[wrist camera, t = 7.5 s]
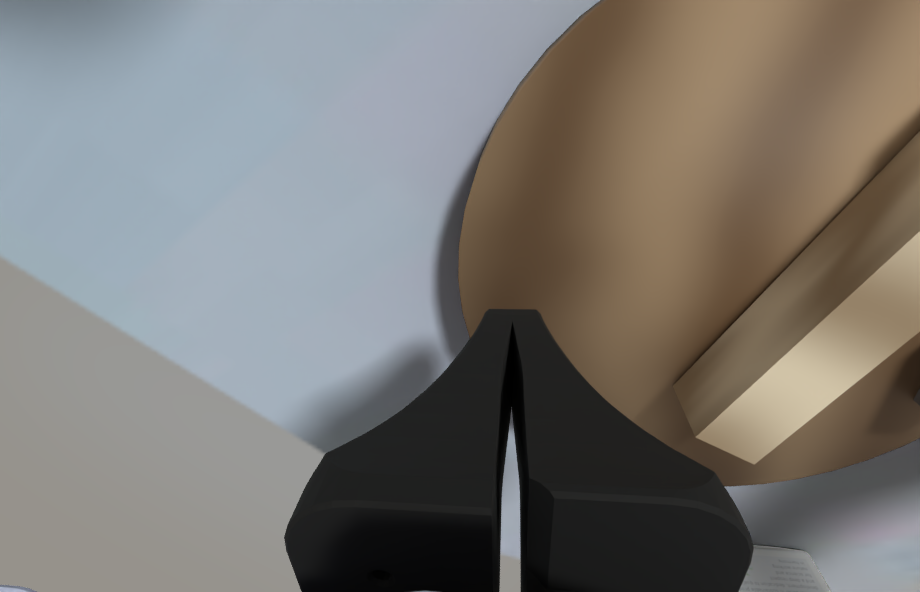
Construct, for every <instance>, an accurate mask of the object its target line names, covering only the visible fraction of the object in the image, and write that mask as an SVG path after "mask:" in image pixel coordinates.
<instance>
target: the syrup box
mask: <svg viewBox="0 0 920 592" xmlns="http://www.w3.org/2000/svg"><path fill="white" fill-rule="evenodd" d="M753 547H754V550H753V555H752V560H751V564H750V566H749V569H748V571H747V573H746V576H745V578H744V580H743V583H742V585H741V587H740V590H739V592H831V590H830V588H829V587H828V585H827V583H826V581H825V580H824V578H823V576H822V575H821V573H820V571H819V569H818V568H817V566H816V564H815V563H814V561H813V559H812V558H811V556H810V555H809V554H808V553H807V552H805V551H802V550H796V549H788V548H780V547H771V546H759V545H753Z"/></svg>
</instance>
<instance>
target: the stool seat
mask: <svg viewBox="0 0 920 592" xmlns="http://www.w3.org/2000/svg"><path fill="white" fill-rule="evenodd" d="M919 131H920V0H600V1H599V2H598V3H597V4H595V5H594V6H593V7H591V8H590V9H589V10H588V11H586V12H585V13H584V14H582V15H581V16H580V17H579V18H578V19H577V20H576V21H575V22H574V23H573V24H572V25H571V26H570V27H569V28H568V29H567V30H566V31H565V32H564V33H563V34H562V35H561V36H560V37H559V38H558V39H557V40H556V41H555V42H554V43H553V44H552V45H551V46H550V47H549V48H548V49H547V50H546V51H545V52H544V53H543V55H542V56H541V57H540V58H539V60H538V61H537V62H536V63H535V65H534V66H533V67H532V68H531V70H530V71H529V72H528V73H527V75H526V76H525V77H524V78H523V80H522V81H521V82H520V83H519V85H518V87H517V88H516V90H515V91H514V93H513V95H512V96H511V98H510V100H509V101H508V103H507V105H506V106H505V108H504V109H503V111H502V113H501V114H500V116H499V118H498V119H497V121H496V124H495V126H494V128H493V130H492V132H491V135H490V137H489V139H488V141H487V143H486V146H485V148H484V150H483V152H482V154H481V158H480V161H479V164H478V167H477V171H476V174H475V177H474V180H473V184H472V187H471V190H470V194H469V197H468V200H467V204H466V207H465V212H464V218H463V224H462V230H461V236H460V242H459V269H458V281H459V289H460V297H461V305H462V312H463V315H464V319H465V323H466V326H467V330H468V333H469V337H470V338H471V337H472V335H473V334H474V332H475V330H476V329H477V327H478V325H479V324H480V322H481V320H482V318H483V316H484V314H485V312H486V311H487V310H488V309H536V310H537V311H538V312H539V313H540V314H541V316H542V318H543V320H544V322H545V324H546V326H547V328H548V330H549V331H550V333H551V335H552V336H553V338H554V339H555V341H556V342H557V344H558V345H559V347H560V348H561V349H562V351H563V352H564V354H565V355H566V356H567V358H568V359H569V360H570V362H571V363H572V364H573V365H574V367H575V368H576V369H577V370H578V371H579V373H580V374H581V375H582V376H583V377H584V378H585V379H586V380H587V382H588V383H589V384H590V385H591V386H592V387H593V388H594V389H595V390H596V391H597V392H598V393H599V394H600V395H601V396H602V397H603V398H604V399H605V400H607V401H608V402H609V403H610V404H611V405H612V406H613V407H615V408H616V409H617V410H618V411H620V412H621V413H622V414H623V415H625V416H626V417H627V418H629V419H630V420H631V421H632V422H634V423H635V424H636V425H638V426H639V427H641V428H642V429H643V430H645V431H646V432H648V433H649V434H651V435H652V436H654V437H655V438H657V439H658V440H660V441H661V442H663V443H665V444H666V445H668V446H669V447H671V448H673V449H674V450H676V451H678V452H680V453H682V454H683V455H685V456H687V457H689V458H691V459H692V460H694V461H696V462H698V463H700V464H701V465H703V466H705V467H707V468H709V469H710V470H712V471H714V472H715V473H716V474H717V476H718V478H719V479H720V481H721V482H722V484H723V486H742V485H757V484H767V483H773V482H780V481H787V480H794V479H799V478H804V477H808V476H812V475H817V474H821V473H825V472H830V471H834V470H837V469H840V468H843V467H847V466H850V465H853V464H856V463H859V462H863V461H866V460H869V459H871V458H874V457H877V456H879V455H882V454H884V453H887V452H889V451H892V450H894V449H897V448H899V447H902V446H904V445H906V444H908V443H910V442H912V441H915V440H917V439H919V438H920V332H919V333H917V334H916V335H915V336H914V337H912V338H911V339H910V340H909V341H907V342H906V343H905V344H904V345H902V346H901V347H900V348H899V349H897V350H896V351H895V352H894V353H892V354H891V355H890V356H889V357H887V358H886V359H885V360H884V361H883V362H881V363H880V364H879V365H878V366H876V367H875V368H874V369H873V370H871V371H870V372H869V373H868V374H866V375H865V376H864V377H863V378H861V379H860V380H859V381H858V382H856V383H855V384H854V385H853V386H851V387H850V388H849V389H848V390H846V391H845V392H844V393H843V394H841V395H840V396H839V397H838V398H836V399H835V400H834V401H833V402H832V403H830V404H829V405H828V406H827V407H825V408H824V409H823V410H822V411H820V412H819V413H818V414H817V415H815V416H814V417H813V418H812V419H810V420H809V421H808V422H807V423H805V424H804V425H803V426H802V427H800V428H799V429H798V430H797V431H795V432H794V433H793V434H792V435H790V436H789V437H788V438H787V439H786V440H784V441H783V442H782V443H781V444H779V445H778V446H777V447H776V448H774V449H773V450H772V451H771V452H769V453H768V454H767V455H766V456H764V457H763V458H762V459H761V460H759V461H758V462H757V463H756V464H752V463H750V462H748V461H745V460H743V459H741V458H739V457H737V456H735V455H733V454H730V453H728V452H726V451H724V450H722V449H720V448H717V447H715V446H713V445H711V444H709V443H707V442H704V441H702V440H700V439H698V438H696V437H695V435H694V433H693V431H692V428H691V426H690V424H689V422H688V419H687V417H686V415H685V413H684V410H683V408H682V406H681V404H680V401H679V399H678V397H677V395H676V392H675V390H674V388H673V385H674V384H675V383H676V382H677V381H678V380H679V379H680V378H681V377H682V376H683V375H684V374H685V373H686V372H687V371H688V370H689V369H690V368H691V367H692V366H693V365H694V364H695V363H696V362H697V361H698V360H699V358H700V357H701V356H702V355H703V354H704V353H705V352H706V351H707V350H708V349H709V348H710V347H711V346H712V345H713V344H714V343H715V342H716V341H717V340H718V339H719V338H720V337H721V336H722V335H723V334H724V333H725V332H726V331H727V330H728V329H729V327H730V326H731V325H732V324H733V323H734V322H735V321H736V320H737V319H738V318H739V317H740V316H741V315H742V314H743V313H744V312H745V311H746V310H747V309H748V308H749V307H750V306H751V305H752V304H753V303H754V302H755V301H756V300H757V299H758V298H759V297H760V295H761V294H762V293H763V292H764V291H765V290H766V289H767V288H768V287H769V286H770V285H771V284H772V283H773V282H774V281H775V280H776V279H777V278H778V277H779V276H780V275H781V274H782V273H783V272H784V271H785V270H786V269H787V268H788V267H789V266H790V265H791V263H792V262H793V261H794V260H795V259H796V258H797V257H798V256H799V255H800V254H801V253H802V252H803V251H804V250H805V249H806V248H807V247H808V246H809V245H810V244H811V243H812V242H813V241H814V240H815V239H816V238H817V237H818V236H819V235H820V234H821V233H822V231H823V230H824V229H825V228H826V227H827V226H828V225H829V224H830V223H831V222H832V221H833V220H834V219H835V218H836V217H837V216H838V215H839V214H840V213H841V212H842V211H843V210H844V209H845V208H846V207H847V206H848V205H849V204H850V203H851V202H852V200H853V199H854V198H855V197H856V196H857V195H858V194H859V193H860V192H861V191H862V190H863V189H864V188H865V187H866V186H867V185H868V184H869V183H870V182H871V181H872V180H873V179H874V178H875V177H876V176H877V175H878V174H879V173H880V172H881V171H882V170H883V168H884V167H885V166H886V165H887V164H888V163H889V162H890V161H891V160H892V159H893V158H894V157H895V156H896V155H897V154H898V153H899V152H900V151H901V150H902V149H903V148H904V147H905V146H906V145H907V144H908V143H909V142H910V141H911V140H912V139H913V138H914V136H915V135H916V134H917V133H918V132H919ZM511 407H512V406H511Z"/></svg>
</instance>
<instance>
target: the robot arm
mask: <svg viewBox="0 0 920 592" xmlns="http://www.w3.org/2000/svg"><path fill="white" fill-rule="evenodd" d="M511 406H512V414H513V424H514V433H515V443H516V453H517V462H518V472H519V484H520V537H521V592H739V590H740V587H741V585H742V583H743V580H744V578H745V576H746V573H747V571H748V569H749V566H750V564H751V560H752V555H753V550H754V547H753V544H752V540H751V537H750V533H749V531H748V529H747V527H746V525H745V523H744V521H743V518H742V516H741V514H740V512H739V510H738V509H737V507H736V505H735V503H734V502H733V500H732V498H731V497H730V495H729V493H728V492H727V490H726V489H725V487H724V486H723V484H722V482H721V481H720V479H719V478H718V476H717V474H716V473H715V472H714V471H712V470H710V469H709V468H707V467H705V466H703V465H701V464H700V463H698V462H696V461H694V460H692V459H691V458H689V457H687V456H685V455H683V454H682V453H680V452H678V451H676V450H674V449H673V448H671V447H669V446H668V445H666V444H665V443H663V442H661V441H660V440H658V439H657V438H655V437H654V436H652V435H651V434H649V433H648V432H646V431H645V430H643V429H642V428H641V427H639V426H638V425H636V424H635V423H634V422H632V421H631V420H630V419H629V418H627V417H626V416H625V415H623V414H622V413H621V412H620V411H618V410H617V409H616V408H615V407H613V406H612V405H611V404H610V403H609V402H608V401H607V400H605V399H604V398H603V397H602V396H601V395H600V394H599V393H598V392H597V391H596V390H595V389H594V388H593V387H592V386H591V385H590V384H589V383H588V382H587V380H586V379H585V378H584V377H583V376H582V375H581V374H580V373H579V371H578V370H577V369H576V368H575V367H574V365H573V364H572V363H571V362H570V360H569V359H568V358H567V356H566V355H565V354H564V352H563V351H562V349H561V348H560V347H559V345H558V344H557V342H556V341H555V339H554V338H553V336H552V335H551V333H550V331H549V330H548V328H547V326H546V324H545V322H544V320H543V318H542V316H541V314H540V313H539V312H538V311H537V310H536V309H488V310H487V311H486V312H485V314H484V316H483V318H482V320H481V322H480V324H479V325H478V327H477V329H476V330H475V332H474V334H473V335H472V337H471V338H470V340H469V341H468V342H467V344H466V345H465V347H464V348H463V349H462V351H461V352H460V353H459V355H458V356H457V357H456V358H455V359H454V361H453V362H452V363H451V364H450V365H449V367H448V368H447V369H446V370H445V371H444V372H443V373H442V375H441V376H440V377H439V378H438V379H437V380H436V381H435V382H434V383H433V384H432V385H431V386H430V387H429V388H428V389H426V390H425V391H424V392H423V393H422V394H421V395H420V396H418V397H417V398H416V399H415V400H414V401H413V402H411V403H410V404H409V405H408V406H406V407H405V408H404V409H403V410H401V411H400V412H398V413H397V414H396V415H394V416H393V417H391V418H390V419H388V420H387V421H385V422H383V423H382V424H380V425H379V426H377V427H375V428H374V429H372V430H370V431H369V432H367V433H365V434H363V435H362V436H360V437H358V438H356V439H354V440H352V441H350V442H348V443H346V444H344V445H342V446H340V447H338V448H336V449H334V450H332V451H330V452H328V453H326V454H325V455H324V457H323V459H322V460H321V462H320V464H319V465H318V467H317V469H316V470H315V472H314V473H313V475H312V477H311V478H310V480H309V482H308V483H307V485H306V487H305V489H304V491H303V493H302V495H301V497H300V500H299V502H298V504H297V506H296V508H295V510H294V512H293V515H292V517H291V519H290V521H289V524H288V526H287V529H286V533H285V537H284V539H285V545H286V551H287V553H288V556H289V559H290V562H291V564H292V567H293V569H294V572H295V575H296V578H297V581H298V583H299V586H300V589H301V591H302V592H499V585H500V584H499V583H500V540H501V498H502V483H503V473H504V465H505V456H506V448H507V440H508V432H509V423H510V415H511ZM0 592H36V591H34V590H32V589H29V588H25V587H20V586H9V585H0Z"/></svg>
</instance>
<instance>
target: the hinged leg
mask: <svg viewBox="0 0 920 592" xmlns="http://www.w3.org/2000/svg"><path fill="white" fill-rule="evenodd" d="M919 332H920V131H919V132H918V133H917V134H916V135H915V136H914V138H913V139H912V140H911V141H910V142H909V143H908V144H907V145H906V146H905V147H904V148H903V149H902V150H901V151H900V152H899V153H898V154H897V155H896V156H895V157H894V158H893V159H892V160H891V161H890V162H889V163H888V164H887V165H886V166H885V167H884V168H883V170H882V171H881V172H880V173H879V174H878V175H877V176H876V177H875V178H874V179H873V180H872V181H871V182H870V183H869V184H868V185H867V186H866V187H865V188H864V189H863V190H862V191H861V192H860V193H859V194H858V195H857V196H856V197H855V198H854V199H853V200H852V202H851V203H850V204H849V205H848V206H847V207H846V208H845V209H844V210H843V211H842V212H841V213H840V214H839V215H838V216H837V217H836V218H835V219H834V220H833V221H832V222H831V223H830V224H829V225H828V226H827V227H826V228H825V229H824V230H823V231H822V233H821V234H820V235H819V236H818V237H817V238H816V239H815V240H814V241H813V242H812V243H811V244H810V245H809V246H808V247H807V248H806V249H805V250H804V251H803V252H802V253H801V254H800V255H799V256H798V257H797V258H796V259H795V260H794V261H793V262H792V263H791V265H790V266H789V267H788V268H787V269H786V270H785V271H784V272H783V273H782V274H781V275H780V276H779V277H778V278H777V279H776V280H775V281H774V282H773V283H772V284H771V285H770V286H769V287H768V288H767V289H766V290H765V291H764V292H763V293H762V294H761V295H760V297H759V298H758V299H757V300H756V301H755V302H754V303H753V304H752V305H751V306H750V307H749V308H748V309H747V310H746V311H745V312H744V313H743V314H742V315H741V316H740V317H739V318H738V319H737V320H736V321H735V322H734V323H733V324H732V325H731V326H730V327H729V329H728V330H727V331H726V332H725V333H724V334H723V335H722V336H721V337H720V338H719V339H718V340H717V341H716V342H715V343H714V344H713V345H712V346H711V347H710V348H709V349H708V350H707V351H706V352H705V353H704V354H703V355H702V356H701V357H700V358H699V360H698V361H697V362H696V363H695V364H694V365H693V366H692V367H691V368H690V369H689V370H688V371H687V372H686V373H685V374H684V375H683V376H682V377H681V378H680V379H679V380H678V381H677V382H676V383H675V384H674V385H673V388H674V390H675V392H676V395H677V397H678V399H679V401H680V404H681V406H682V408H683V410H684V413H685V415H686V417H687V419H688V422H689V424H690V426H691V428H692V431H693V433H694V435H695V437H696V438H698V439H700V440H702V441H704V442H707V443H709V444H711V445H713V446H715V447H717V448H720V449H722V450H724V451H726V452H728V453H730V454H733V455H735V456H737V457H739V458H741V459H743V460H745V461H748V462H750V463H752V464H756V463H757V462H758V461H759V460H761V459H762V458H763V457H764V456H766V455H767V454H768V453H769V452H771V451H772V450H773V449H774V448H776V447H777V446H778V445H779V444H781V443H782V442H783V441H784V440H786V439H787V438H788V437H789V436H790V435H792V434H793V433H794V432H795V431H797V430H798V429H799V428H800V427H802V426H803V425H804V424H805V423H807V422H808V421H809V420H810V419H812V418H813V417H814V416H815V415H817V414H818V413H819V412H820V411H822V410H823V409H824V408H825V407H827V406H828V405H829V404H830V403H832V402H833V401H834V400H835V399H836V398H838V397H839V396H840V395H841V394H843V393H844V392H845V391H846V390H848V389H849V388H850V387H851V386H853V385H854V384H855V383H856V382H858V381H859V380H860V379H861V378H863V377H864V376H865V375H866V374H868V373H869V372H870V371H871V370H873V369H874V368H875V367H876V366H878V365H879V364H880V363H881V362H883V361H884V360H885V359H886V358H887V357H889V356H890V355H891V354H892V353H894V352H895V351H896V350H897V349H899V348H900V347H901V346H902V345H904V344H905V343H906V342H907V341H909V340H910V339H911V338H912V337H914V336H915V335H916V334H917V333H919Z"/></svg>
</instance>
